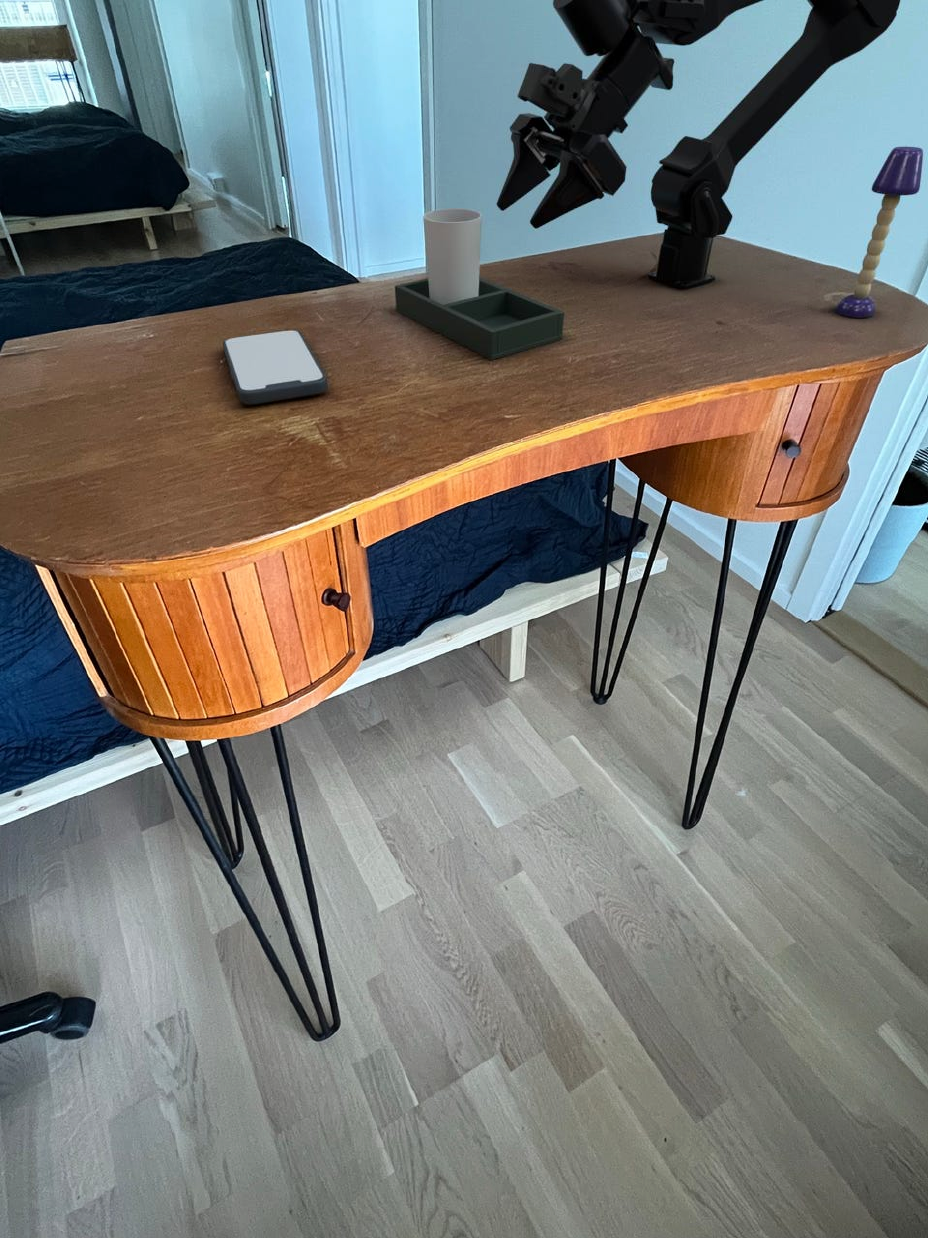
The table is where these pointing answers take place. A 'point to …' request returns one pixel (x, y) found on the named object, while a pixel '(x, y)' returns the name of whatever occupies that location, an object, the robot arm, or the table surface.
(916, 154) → the toy lamp
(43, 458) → the table surface
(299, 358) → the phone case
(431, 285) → the white cup
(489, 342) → the tray
